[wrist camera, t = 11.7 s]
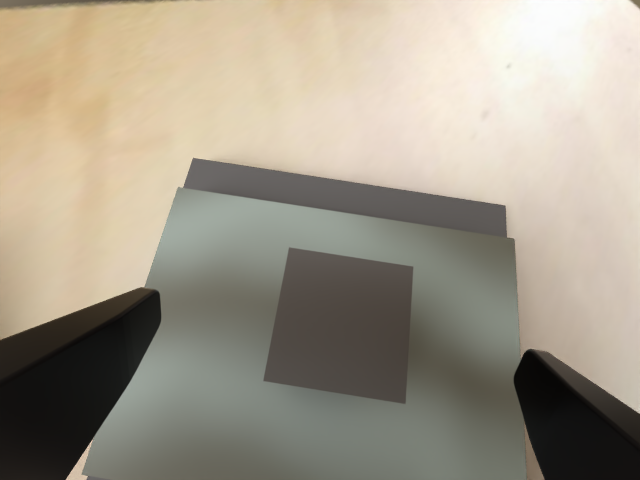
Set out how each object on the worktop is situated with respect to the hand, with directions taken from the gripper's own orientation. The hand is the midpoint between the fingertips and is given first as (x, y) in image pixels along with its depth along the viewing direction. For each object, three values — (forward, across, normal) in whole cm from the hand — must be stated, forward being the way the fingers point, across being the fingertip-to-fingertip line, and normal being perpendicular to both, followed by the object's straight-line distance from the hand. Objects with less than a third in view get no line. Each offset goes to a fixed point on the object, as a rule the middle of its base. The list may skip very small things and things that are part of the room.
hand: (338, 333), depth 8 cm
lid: (+5, 0, +4) cm, 7 cm away
